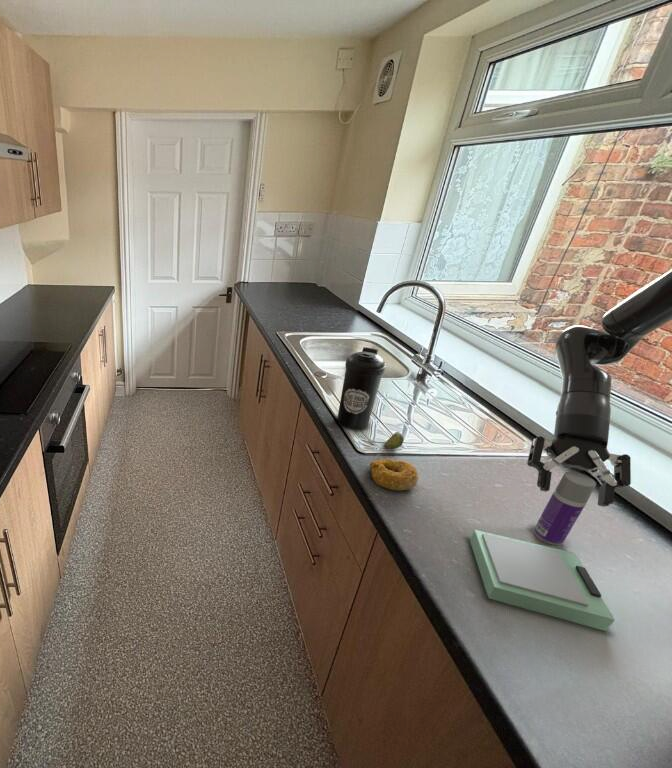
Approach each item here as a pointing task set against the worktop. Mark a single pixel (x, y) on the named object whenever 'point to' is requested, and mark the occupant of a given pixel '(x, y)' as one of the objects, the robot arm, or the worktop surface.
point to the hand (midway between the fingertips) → (573, 498)
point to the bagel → (394, 474)
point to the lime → (395, 441)
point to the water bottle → (360, 388)
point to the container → (564, 507)
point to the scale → (539, 579)
